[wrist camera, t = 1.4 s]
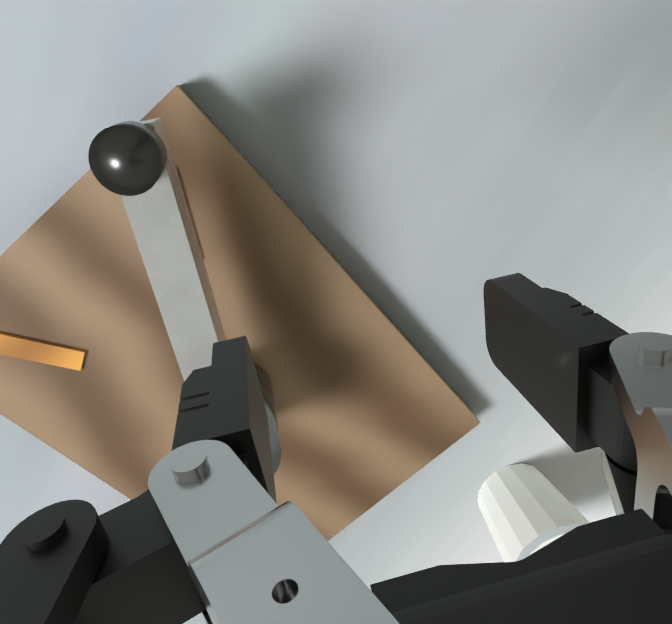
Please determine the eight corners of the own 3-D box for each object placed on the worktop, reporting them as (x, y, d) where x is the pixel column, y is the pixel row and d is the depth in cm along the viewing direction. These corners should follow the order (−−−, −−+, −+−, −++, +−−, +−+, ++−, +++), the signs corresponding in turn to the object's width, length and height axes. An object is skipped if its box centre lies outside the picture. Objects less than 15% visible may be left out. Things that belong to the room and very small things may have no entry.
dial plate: (179, 85, 27) (176, 85, 25) (471, 410, 38) (481, 424, 37) (-82, 337, 29) (-99, 352, 28) (265, 571, 41) (267, 590, 39)
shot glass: (493, 538, 44) (537, 615, 38) (454, 491, 41) (495, 565, 35) (564, 493, 43) (620, 563, 37) (529, 441, 41) (584, 508, 34)
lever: (280, 417, 34) (294, 510, 26) (201, 437, 33) (193, 537, 26) (199, 102, 26) (186, 112, 18) (93, 122, 25) (38, 140, 18)
